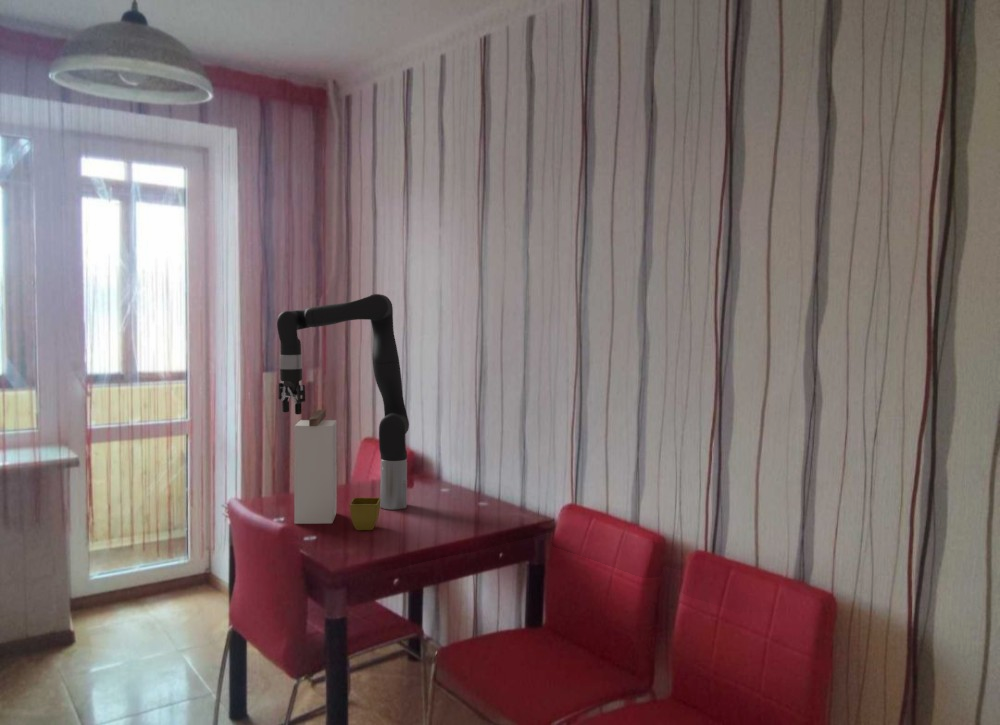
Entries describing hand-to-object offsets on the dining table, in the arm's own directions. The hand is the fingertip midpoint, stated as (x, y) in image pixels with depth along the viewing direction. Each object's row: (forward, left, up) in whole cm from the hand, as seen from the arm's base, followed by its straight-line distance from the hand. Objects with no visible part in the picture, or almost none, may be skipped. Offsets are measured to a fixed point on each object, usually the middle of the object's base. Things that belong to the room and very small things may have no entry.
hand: (292, 413), depth 265 cm
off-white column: (-11, +20, -32) cm, 40 cm away
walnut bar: (-11, +16, 0) cm, 20 cm away
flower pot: (-28, +32, -33) cm, 54 cm away
